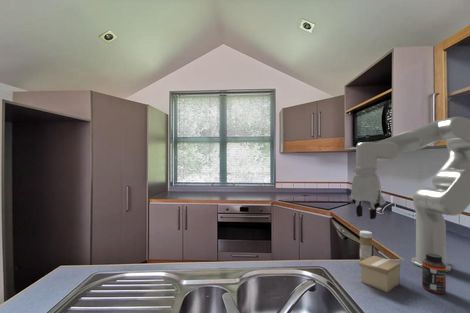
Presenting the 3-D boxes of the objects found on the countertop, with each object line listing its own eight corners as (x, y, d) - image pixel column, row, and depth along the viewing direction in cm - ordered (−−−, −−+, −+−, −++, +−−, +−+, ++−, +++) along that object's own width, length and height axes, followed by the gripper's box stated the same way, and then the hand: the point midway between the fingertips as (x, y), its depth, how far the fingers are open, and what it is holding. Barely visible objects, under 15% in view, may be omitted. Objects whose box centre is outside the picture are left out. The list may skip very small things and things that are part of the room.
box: (374, 274, 88) (374, 258, 89) (399, 283, 82) (399, 266, 82) (361, 282, 82) (361, 264, 83) (387, 292, 76) (387, 273, 76)
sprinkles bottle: (361, 262, 100) (361, 229, 100) (373, 265, 97) (373, 231, 97) (357, 265, 97) (358, 231, 97) (370, 268, 94) (370, 234, 94)
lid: (374, 258, 89) (374, 254, 89) (400, 266, 82) (400, 262, 82) (358, 265, 82) (358, 261, 82) (385, 275, 75) (385, 270, 75)
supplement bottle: (439, 296, 75) (438, 259, 75) (418, 287, 80) (418, 252, 80) (449, 292, 77) (449, 256, 77) (428, 284, 82) (428, 250, 83)
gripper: (341, 171, 103) (341, 214, 102) (385, 173, 89) (384, 223, 88) (350, 171, 107) (350, 213, 106) (393, 173, 94) (393, 220, 93)
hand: (366, 217), depth 97 cm, fingers open, 4 cm apart
